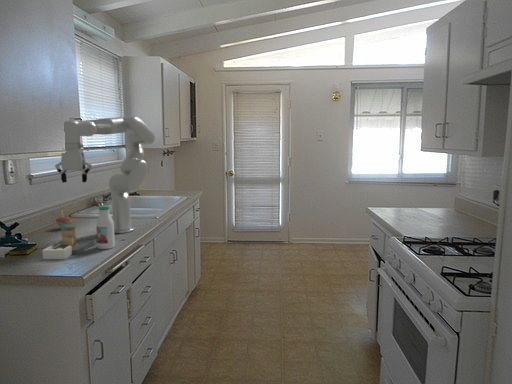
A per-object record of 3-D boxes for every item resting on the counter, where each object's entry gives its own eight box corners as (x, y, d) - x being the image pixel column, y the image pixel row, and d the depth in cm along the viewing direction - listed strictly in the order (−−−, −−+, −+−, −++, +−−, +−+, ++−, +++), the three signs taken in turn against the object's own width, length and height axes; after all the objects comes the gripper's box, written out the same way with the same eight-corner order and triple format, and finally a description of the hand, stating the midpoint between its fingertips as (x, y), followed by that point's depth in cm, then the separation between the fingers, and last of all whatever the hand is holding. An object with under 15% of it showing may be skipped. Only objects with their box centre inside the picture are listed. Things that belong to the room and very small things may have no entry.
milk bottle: (109, 244, 191) (107, 204, 188) (118, 246, 186) (115, 205, 183) (94, 247, 185) (91, 206, 182) (103, 250, 180) (100, 208, 177)
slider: (66, 243, 184) (65, 226, 183) (76, 243, 184) (75, 226, 183) (62, 245, 180) (61, 228, 179) (72, 245, 180) (71, 228, 179)
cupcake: (68, 230, 219) (67, 209, 217) (53, 230, 219) (51, 209, 217) (75, 226, 228) (74, 206, 226) (60, 226, 228) (59, 206, 226)
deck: (61, 244, 190) (61, 240, 190) (92, 244, 190) (92, 240, 190) (44, 254, 174) (44, 250, 174) (78, 254, 174) (78, 250, 174)
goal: (51, 254, 174) (50, 245, 174) (72, 254, 174) (71, 245, 174) (43, 259, 168) (42, 250, 167) (65, 259, 168) (64, 250, 167)
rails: (59, 245, 182) (59, 244, 182) (79, 245, 182) (79, 243, 182) (50, 250, 174) (50, 248, 174) (71, 250, 174) (71, 248, 174)
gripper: (93, 146, 191) (95, 181, 194) (57, 146, 191) (60, 181, 193) (86, 147, 184) (89, 183, 186) (50, 147, 183) (52, 183, 186)
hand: (74, 182), depth 190 cm, fingers open, 9 cm apart
